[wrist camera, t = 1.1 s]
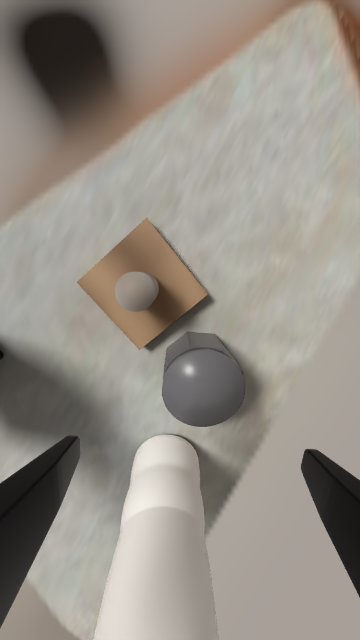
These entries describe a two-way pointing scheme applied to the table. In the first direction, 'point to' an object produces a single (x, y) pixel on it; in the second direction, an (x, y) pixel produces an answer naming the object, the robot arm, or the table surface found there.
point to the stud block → (142, 285)
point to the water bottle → (160, 552)
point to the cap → (201, 380)
